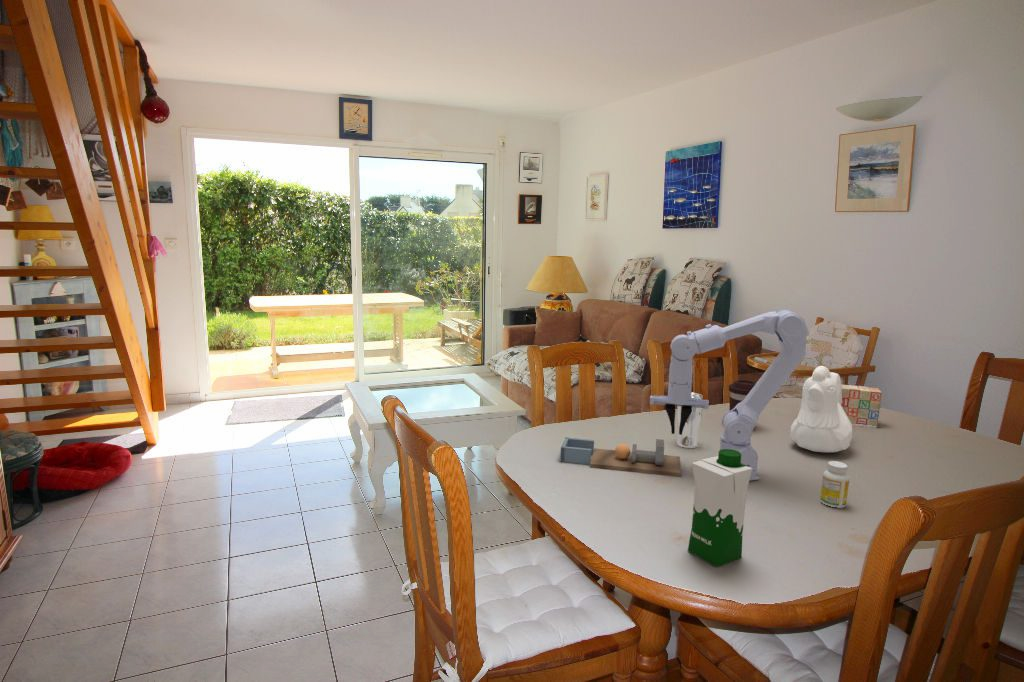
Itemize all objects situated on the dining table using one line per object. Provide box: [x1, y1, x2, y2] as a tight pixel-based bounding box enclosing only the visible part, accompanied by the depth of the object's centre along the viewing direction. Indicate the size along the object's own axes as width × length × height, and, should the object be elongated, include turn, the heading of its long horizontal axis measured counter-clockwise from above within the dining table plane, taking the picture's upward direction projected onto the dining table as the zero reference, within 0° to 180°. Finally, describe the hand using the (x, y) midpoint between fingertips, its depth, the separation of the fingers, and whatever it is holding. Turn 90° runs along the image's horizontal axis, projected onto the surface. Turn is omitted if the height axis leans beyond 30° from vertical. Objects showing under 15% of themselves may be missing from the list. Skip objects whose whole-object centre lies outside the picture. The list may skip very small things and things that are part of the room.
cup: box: [559, 436, 595, 466], centre depth 167 cm, size 8×8×4 cm
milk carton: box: [687, 449, 752, 568], centre depth 116 cm, size 9×9×20 cm
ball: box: [615, 443, 631, 459], centre depth 164 cm, size 4×4×4 cm
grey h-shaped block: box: [631, 438, 665, 466], centre depth 162 cm, size 8×6×5 cm
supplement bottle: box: [819, 460, 850, 509], centre depth 140 cm, size 5×5×10 cm
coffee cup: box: [728, 379, 757, 430], centre depth 195 cm, size 10×10×15 cm
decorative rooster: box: [789, 365, 853, 453], centre depth 177 cm, size 25×16×25 cm, turn 127°
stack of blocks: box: [841, 384, 882, 427], centre depth 204 cm, size 21×6×12 cm, turn 70°
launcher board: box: [589, 447, 682, 477], centre depth 163 cm, size 23×12×1 cm, turn 77°
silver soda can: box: [676, 391, 704, 449], centre depth 178 cm, size 7×7×15 cm
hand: (676, 433), depth 160 cm, fingers closed
